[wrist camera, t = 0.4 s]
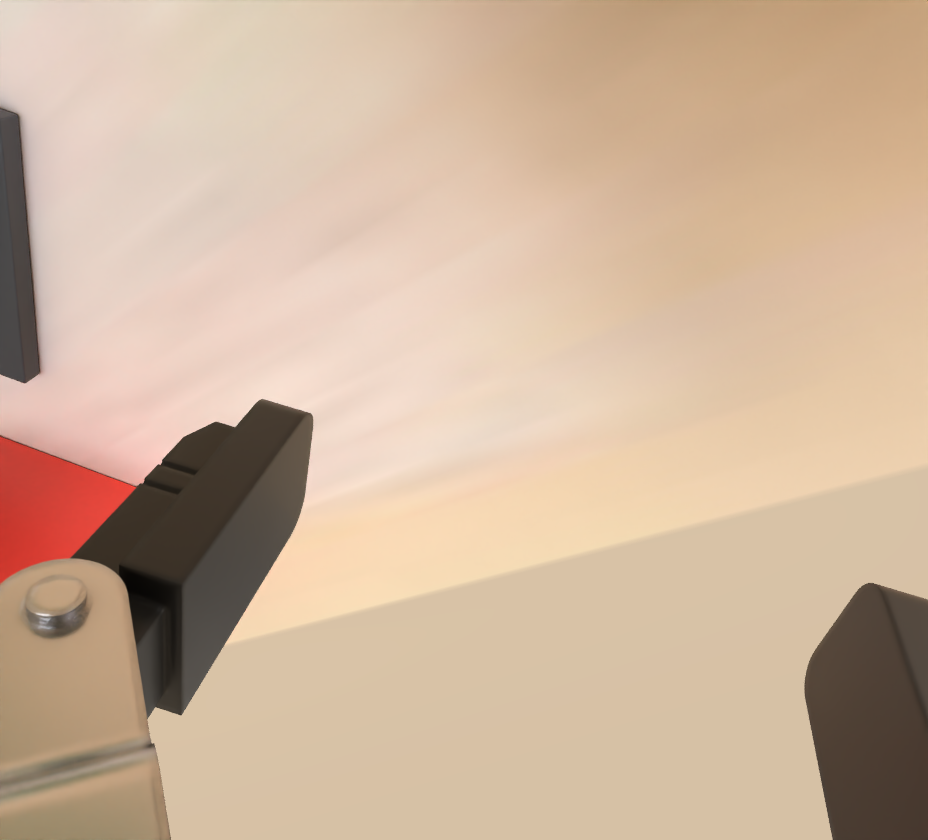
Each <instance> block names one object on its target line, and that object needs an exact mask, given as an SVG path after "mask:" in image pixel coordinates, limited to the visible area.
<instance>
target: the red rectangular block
mask: <svg viewBox="0 0 928 840" xmlns="http://www.w3.org/2000/svg"><path fill="white" fill-rule="evenodd" d="M135 489H136V487H134V486H131V485H129V484H126V483H123V482H121V481H118V480H115V479H113V478H110V477H107V476H105V475H102V474H99V473H97V472H94V471H91V470H89V469H86V468H83V467H80V466H78V465H75V464H72V463H70V462H67V461H64V460H62V459H59V458H56V457H54V456H51V455H48V454H46V453H43V452H40V451H38V450H35V449H32V448H30V447H27V446H24V445H22V444H19V443H16V442H13V441H11V440H8V439H5V438H3V437H0V584H1V583H2V582H3V581H4V580H6V579H7V578H8V577H10V576H11V575H13V574H15V573H16V572H18V571H20V570H22V569H25V568H27V567H29V566H32V565H35V564H38V563H41V562H45V561H50V560H56V559H69V558H70V557H71V556H72V555H73V554H75V552H76V551H77V550H78V549H79V548H80V547H81V546H82V545H83V544H84V543H85V542H86V541H87V540H88V539H89V538H90V536H91V535H92V534H93V533H94V532H95V531H96V530H97V529H98V528H99V527H100V526H101V525H102V524H103V523H104V522H105V520H106V519H107V518H108V517H109V516H110V515H111V514H112V513H113V512H114V511H115V510H116V509H117V508H118V507H119V506H120V505H121V503H122V502H123V501H124V500H125V499H126V498H127V497H128V496H129V495H130V494H131V493H132V492H133V491H134V490H135Z"/></svg>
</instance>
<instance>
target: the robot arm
mask: <svg viewBox="0 0 928 840" xmlns="http://www.w3.org/2000/svg"><path fill="white" fill-rule="evenodd" d="M312 431H313V416H312V414H311V413H308V412H304V411H301V410H298V409H294V408H291V407H288V406H284V405H281V404H278V403H274V402H271V401H267V400H264V399H261V400H259V401H258V402H257V403H256V404H255V405H254V406H253V407H252V408H251V410H250V411H249V412H248V413H247V414H246V415H245V417H244V418H243V419H242V420H241V421H240V422H239V424H238V425H237V426H236V427H232V426H229V425H225V424H222V423H219V422H214V423H212V424H210V425H208V426H206V427H204V428H202V429H199V430H197V431H195V432H193V433H191V434H189V435H187V436H185V437H183V438H182V439H181V441H180V442H179V443H178V444H177V445H176V446H175V447H174V448H173V449H172V450H171V451H170V452H169V453H168V454H167V455H166V457H165V458H164V459H163V460H162V463H161V465H159V464H158V465H157V466H156V467H155V468H154V469H153V470H152V471H151V473H150V474H149V475H148V476H147V477H146V478H145V481H144V483H143V484H139V485H138V486H137V487H136V489H135V490H134V491H133V492H132V493H131V494H130V495H129V496H128V497H127V498H126V499H125V500H124V501H123V502H122V503H121V505H120V506H119V507H118V508H117V509H116V510H115V511H114V512H113V513H112V514H111V515H110V516H109V517H108V518H107V519H106V520H105V522H104V523H103V524H102V525H101V526H100V527H99V528H98V529H97V530H96V531H95V532H94V533H93V534H92V535H91V536H90V538H89V539H88V540H87V541H86V542H85V543H84V544H83V545H82V546H81V547H80V548H79V549H78V550H77V551H76V552H75V554H73V555H72V556H71V557H70V558H69V559H56V560H50V561H45V562H41V563H38V564H35V565H32V566H29V567H27V568H25V569H22V570H20V571H18V572H16V573H15V574H13V575H11V576H10V577H8V578H7V579H6V580H4V581H3V582H2V583H1V584H0V840H171V837H170V830H169V824H168V818H167V812H166V806H165V799H164V793H163V787H162V780H161V774H160V768H159V763H158V757H157V753H156V748H155V745H154V744H152V743H151V739H150V733H149V727H148V721H147V719H148V717H149V716H150V714H151V713H152V711H153V710H154V708H155V707H157V708H160V709H163V710H166V711H169V712H172V713H176V714H178V715H182V714H183V712H184V710H185V709H186V707H187V705H188V704H189V702H190V700H191V699H192V697H193V696H194V694H195V692H196V691H197V689H198V687H199V686H200V684H201V682H202V681H203V679H204V677H205V676H206V674H207V673H208V671H209V669H210V667H211V666H212V664H213V663H214V661H215V659H216V658H217V656H218V654H219V653H220V651H221V649H222V648H223V646H224V645H225V643H226V641H227V640H228V638H229V636H230V635H231V633H232V631H233V630H234V628H235V626H236V625H237V623H238V621H239V620H240V618H241V617H242V615H243V613H244V612H245V610H246V608H247V607H248V605H249V603H250V602H251V600H252V598H253V597H254V595H255V593H256V592H257V590H258V589H259V587H260V585H261V584H262V582H263V580H264V579H265V577H266V575H267V574H268V572H269V570H270V569H271V567H272V566H273V564H274V562H275V561H276V559H277V557H278V556H279V554H280V552H281V551H282V549H283V547H284V546H285V544H286V542H287V541H288V539H289V538H290V536H291V534H292V532H293V530H294V528H295V526H296V523H297V521H298V518H299V515H300V512H301V509H302V506H303V502H304V497H305V490H306V481H307V473H308V465H309V456H310V448H311V440H312ZM805 699H806V704H807V709H808V714H809V720H810V725H811V730H812V735H813V740H814V745H815V751H816V756H817V760H818V766H819V771H820V776H821V781H822V786H823V792H824V797H825V802H826V807H827V812H828V818H829V823H830V828H831V833H832V837H833V840H928V600H927V599H924V598H920V597H917V596H914V595H910V594H907V593H904V592H901V591H897V590H894V589H891V588H887V587H884V586H881V585H877V584H874V583H868V584H865V585H863V586H862V587H861V588H860V589H858V591H857V592H856V594H855V595H854V596H853V598H852V599H851V600H850V602H849V603H848V604H847V606H846V607H845V609H844V610H843V612H842V613H841V614H840V616H839V617H838V619H837V620H836V622H835V623H834V624H833V626H832V627H831V628H830V630H829V631H828V633H827V634H826V636H825V637H824V638H823V640H822V641H821V643H820V644H819V645H818V647H817V648H816V650H815V651H814V653H813V655H812V657H811V659H810V661H809V664H808V668H807V672H806V677H805Z"/></svg>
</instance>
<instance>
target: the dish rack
mask: <svg viewBox="0 0 928 840" xmlns="http://www.w3.org/2000/svg"><path fill="white" fill-rule="evenodd" d="M0 374H1V375H3V376H6V377H9V378H11V379H14V380H17V381H20V382H22V383H27V382H28V381H30V380H31V379H32V378H34V377H35V376H37V375H38V374H39V362H38V350H37V338H36V327H35V315H34V303H33V291H32V279H31V267H30V255H29V243H28V232H27V220H26V208H25V196H24V184H23V172H22V160H21V148H20V137H19V125H18V116H17V114H14V113H11V112H8V111H5V110H3V109H0Z"/></svg>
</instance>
